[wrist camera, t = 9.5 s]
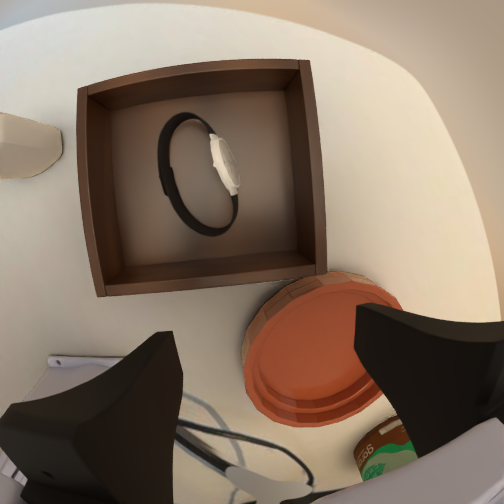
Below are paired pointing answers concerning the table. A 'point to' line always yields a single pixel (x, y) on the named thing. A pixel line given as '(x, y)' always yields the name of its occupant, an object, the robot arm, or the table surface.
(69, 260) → the table surface
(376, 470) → the food container
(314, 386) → the bowl
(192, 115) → the watch
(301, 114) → the holder
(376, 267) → the table surface
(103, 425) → the robot arm
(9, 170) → the eye dropper bottle
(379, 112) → the table surface
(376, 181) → the table surface
